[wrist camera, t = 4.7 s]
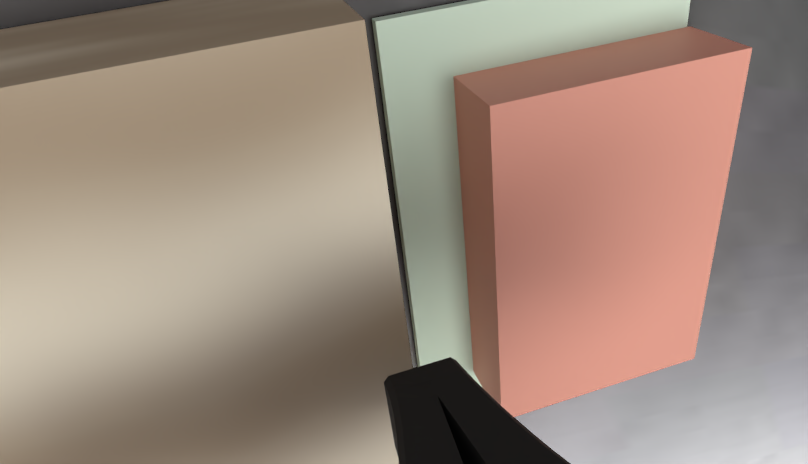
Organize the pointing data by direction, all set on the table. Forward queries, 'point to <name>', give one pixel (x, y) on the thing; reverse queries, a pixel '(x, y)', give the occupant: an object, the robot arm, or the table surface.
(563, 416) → the table surface
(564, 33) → the mat
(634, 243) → the salmon pink block
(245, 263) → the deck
